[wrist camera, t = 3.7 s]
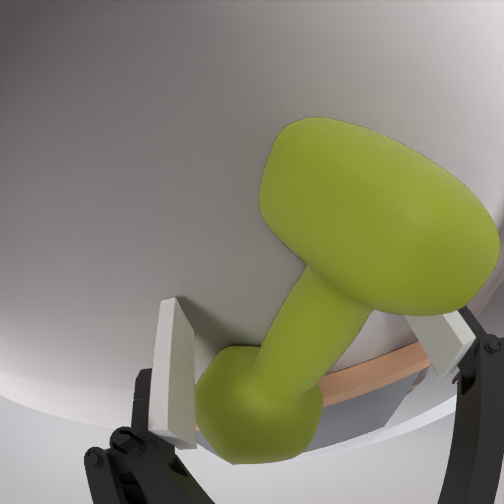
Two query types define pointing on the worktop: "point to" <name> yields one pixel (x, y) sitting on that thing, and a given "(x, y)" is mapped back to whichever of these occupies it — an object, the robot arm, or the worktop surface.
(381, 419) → the board
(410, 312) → the dumbbell
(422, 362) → the strip
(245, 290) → the worktop surface
